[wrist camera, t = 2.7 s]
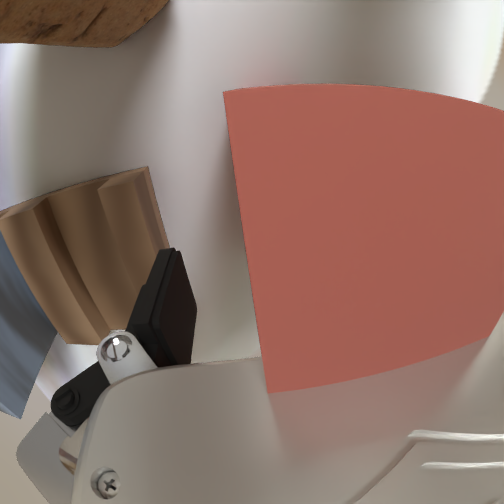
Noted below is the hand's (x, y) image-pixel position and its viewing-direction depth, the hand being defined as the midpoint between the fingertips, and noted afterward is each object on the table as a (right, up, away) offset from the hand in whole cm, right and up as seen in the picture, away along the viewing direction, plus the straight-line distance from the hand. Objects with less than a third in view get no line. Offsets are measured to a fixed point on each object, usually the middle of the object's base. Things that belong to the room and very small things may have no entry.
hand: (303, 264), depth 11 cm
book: (0, +6, +7) cm, 9 cm away
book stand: (-19, -1, +11) cm, 22 cm away
